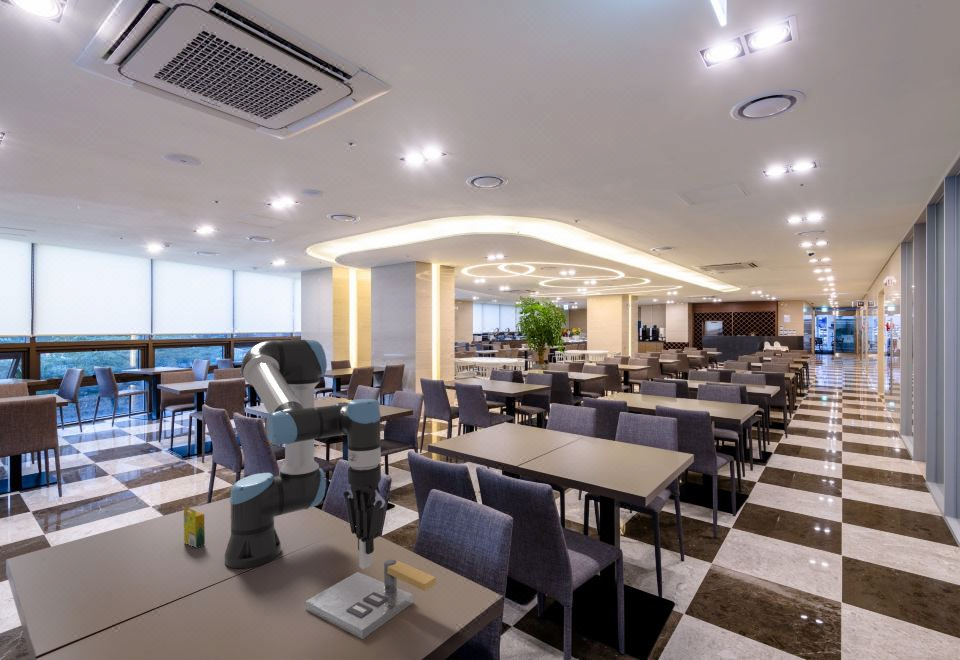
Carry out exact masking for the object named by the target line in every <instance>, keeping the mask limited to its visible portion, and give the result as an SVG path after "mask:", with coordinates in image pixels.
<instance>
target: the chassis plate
mask: <svg viewBox="0 0 960 660" xmlns="http://www.w3.org/2000/svg"><path fill="white" fill-rule="evenodd" d="M373 592H375V593H378V594H380V595H382V596H384V597H387V598H388V600H387V601H385V602H384V603H382V604H381V605H380V606H378V607H377V606H375V605H373V604H370V603H368V602H366V601H364V600H363V599H364V598H365V597H367V596H368V595H370V594H372V593H373ZM413 596H414V595H413V593H410V592H408V591H406V590H403V589H400V588H398V587H397V590H396V591H395V592H394V593H386V592H385V584H384V582H383V581H381V580H378V579H376V578H373V577H371V576H370V575H366V574H364V573H361V572H359V571H357V572H355V573H353V574H351V575H349V576H347V577H346V578H344V579H342V580H340V581H339V582H337V583H335V584H334V585H331V586H330V587H328V588H326V589H324V590H322V591H321V592H319V593H317V594H316V595H314V596H312V597H310V598H308V599H307V600H305V603H304V604H305V610H306V611H307V612H309V613H312V614H313V615H315V616H317V617H320V619H323V620H324V621H327V622H329V623H331V624H332V625H334V626H336V627H338V628H340V629H342V630H344V631H346V632H348V633H350V634H351V635H353V636H356V637H357V638H359V639H361V640H364V639H365V638H366V637H368V636H369V635H370V634H372V633H373V632H375V631H376V630H377V629H379V628H380V627H382V625H385V623H387V622H388V621H390V620H391V619H393V618H394V617H395V616H396V615H398V614H400V613H401V612H402V611H404V610H405V609H406V608H408V607H409V606H410V605H412V604H413V603H414V600H413V599H414V597H413ZM357 602H359V603H361V604H364V605H366V606H368V607H370V608H372V609H373V610H372V611H371V612H369V613H368V614H366V615H365V616H363V617H362V618H360V617H358V616H356V615H354V614H352V613H350V612H348V611H346V609H348V608H349V607H351V606H353V605H354V604H356V603H357Z"/></svg>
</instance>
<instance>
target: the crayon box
mask: <svg viewBox="0 0 960 660" xmlns="http://www.w3.org/2000/svg"><path fill="white" fill-rule="evenodd" d="M183 533H184V534H183V543H184V542H185V543H187V544H189V545H188V546H190V545H191V546H190V547H192V546H194V547H198V548H200V547H202V546H201V545H203V546H205V545H206V543H205V538H206V537H205V535H206V534H205V514H204V513H201V512H199V511H196V510H194V509H192V508H188V507H186V506H184V508H183ZM187 544H186V545H187ZM204 544H205V545H204ZM199 546H200V547H199ZM194 547H193V548H194Z"/></svg>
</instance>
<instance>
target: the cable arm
mask: <svg viewBox="0 0 960 660" xmlns="http://www.w3.org/2000/svg"><path fill="white" fill-rule="evenodd" d="M383 564H384V565H383V570H384V571H386V572H387V573H388V574H390V575H392V576H394V577H396V578H397V579H398V580H400V581H403V582H405V583H406V584H409V585H411V586H413V587H415V588H417V589H419V590H421V591H422V592H426V591H428V590H430V589H431V588H432V587H434V586H435V585H437V581H436V578H437V577H435V576H433V575H432V574H428V573H426V572H425V571H422V570H420V569H417V568H415V567H412V566H411V565H409V564H406V563H405V562H404V563H403V562H401V561H399V560H398V561H397V560H396V559H388V560H386V561H384V563H383ZM384 571H383V572H384Z"/></svg>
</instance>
